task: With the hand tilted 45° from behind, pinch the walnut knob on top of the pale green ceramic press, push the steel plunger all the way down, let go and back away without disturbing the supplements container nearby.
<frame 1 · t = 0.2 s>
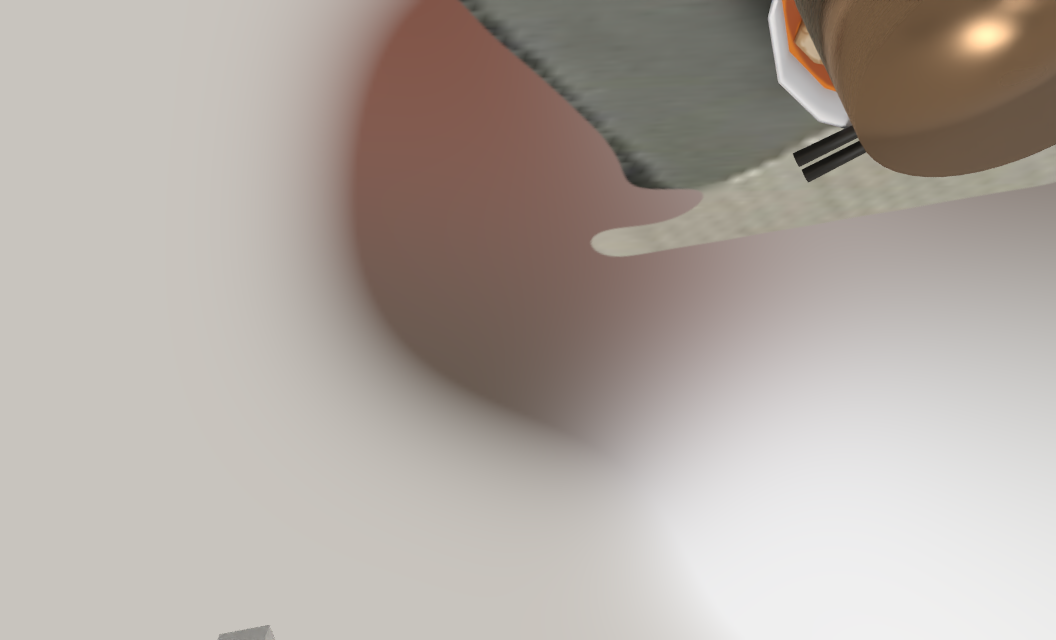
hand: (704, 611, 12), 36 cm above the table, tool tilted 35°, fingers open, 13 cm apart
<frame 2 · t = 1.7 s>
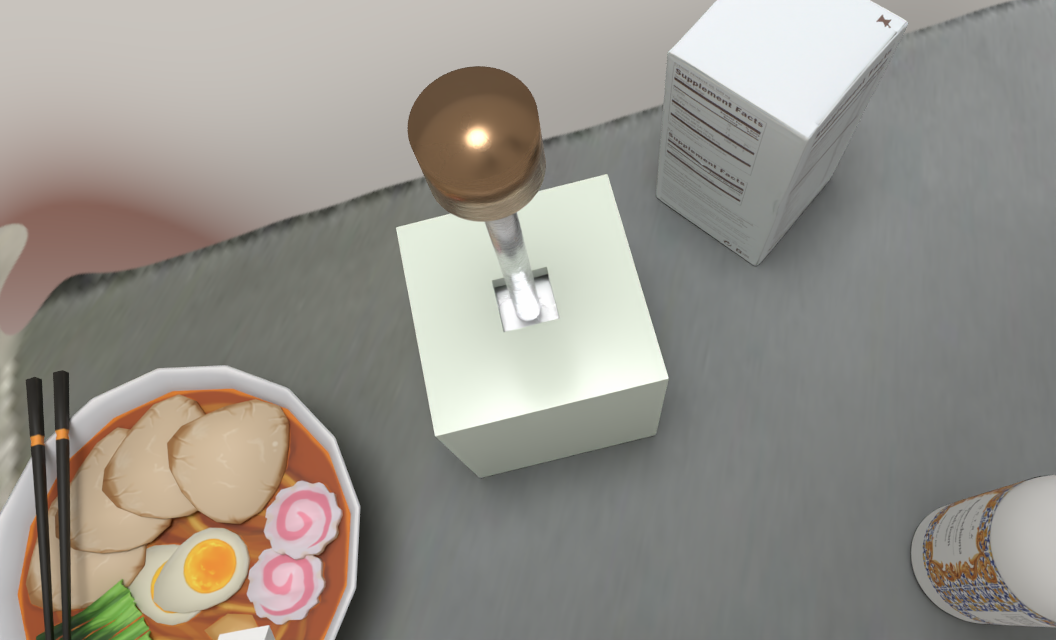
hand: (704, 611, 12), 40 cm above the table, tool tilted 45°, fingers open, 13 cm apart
plunger: (507, 241, 36), point 21 cm above the table, slide at 0.0 cm
bath foam: (966, 562, 49), on the table
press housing: (546, 371, 55), on the table
ramen bowl: (228, 559, 54), on the table
supplement box: (741, 188, 59), on the table
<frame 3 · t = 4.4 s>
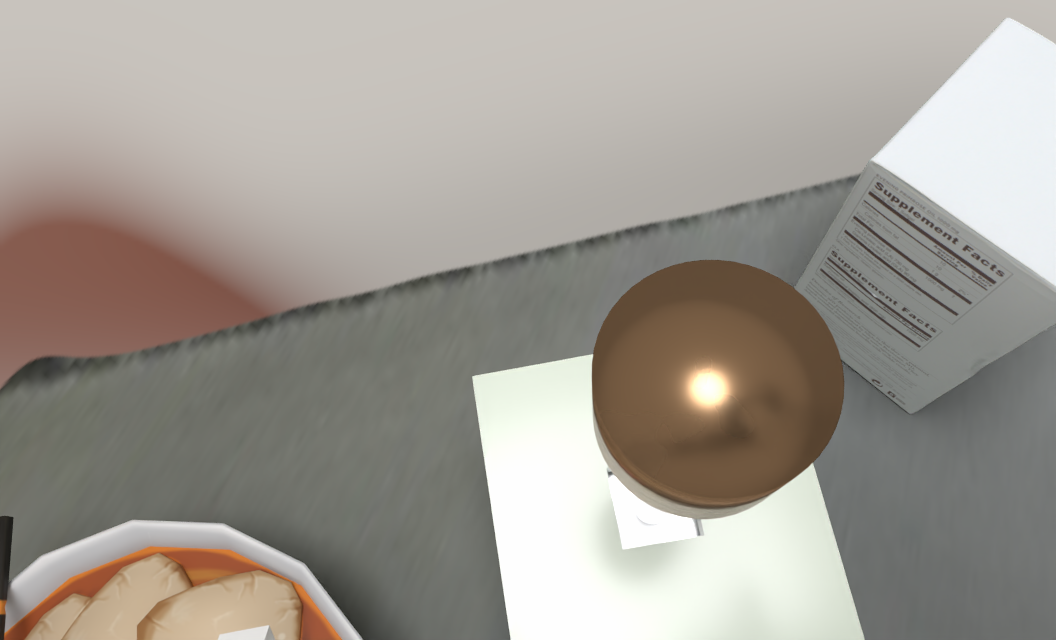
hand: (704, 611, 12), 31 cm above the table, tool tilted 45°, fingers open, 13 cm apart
plunger: (671, 466, 23), point 21 cm above the table, slide at 0.0 cm
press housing: (637, 537, 43), on the table
supplement box: (891, 308, 46), on the table
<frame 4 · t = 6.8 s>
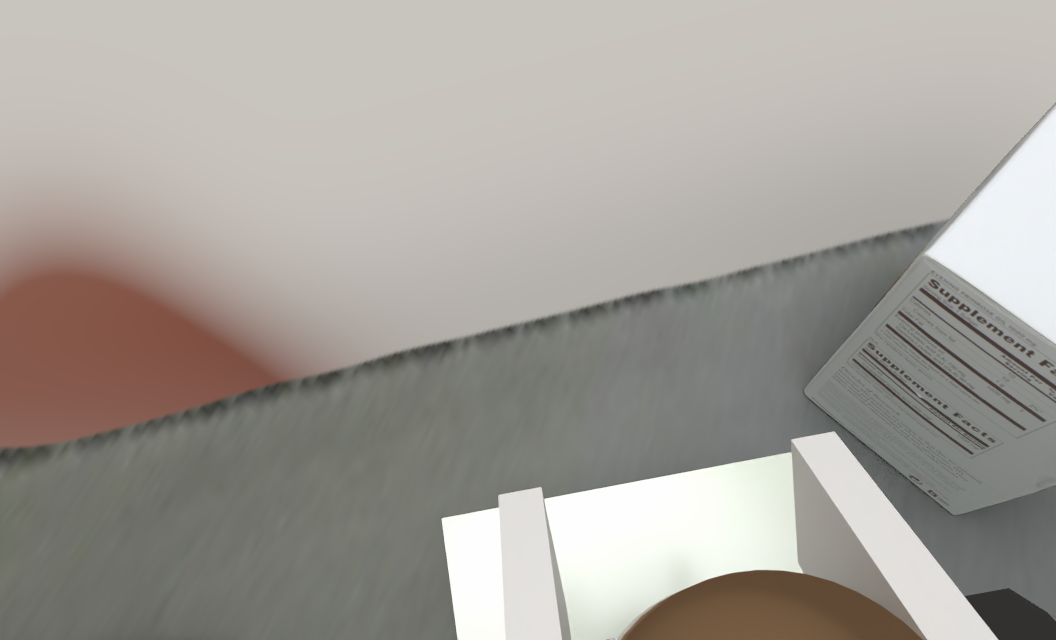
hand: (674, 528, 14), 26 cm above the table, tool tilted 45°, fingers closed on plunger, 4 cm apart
supplement box: (928, 389, 41), on the table
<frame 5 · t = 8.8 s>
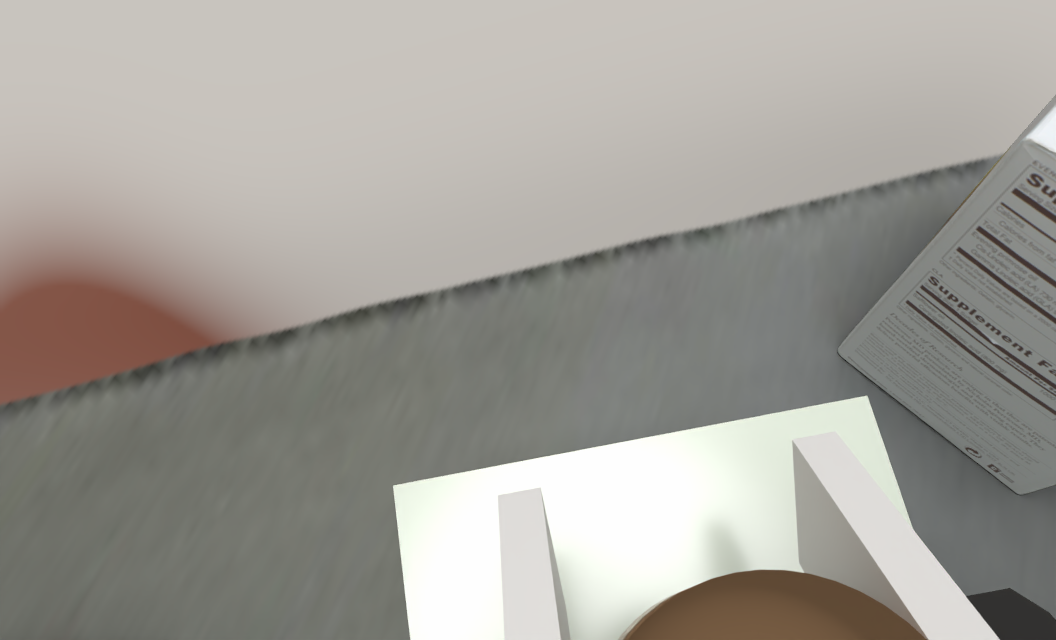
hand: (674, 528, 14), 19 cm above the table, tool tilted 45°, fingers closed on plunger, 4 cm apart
supplement box: (984, 348, 35), on the table
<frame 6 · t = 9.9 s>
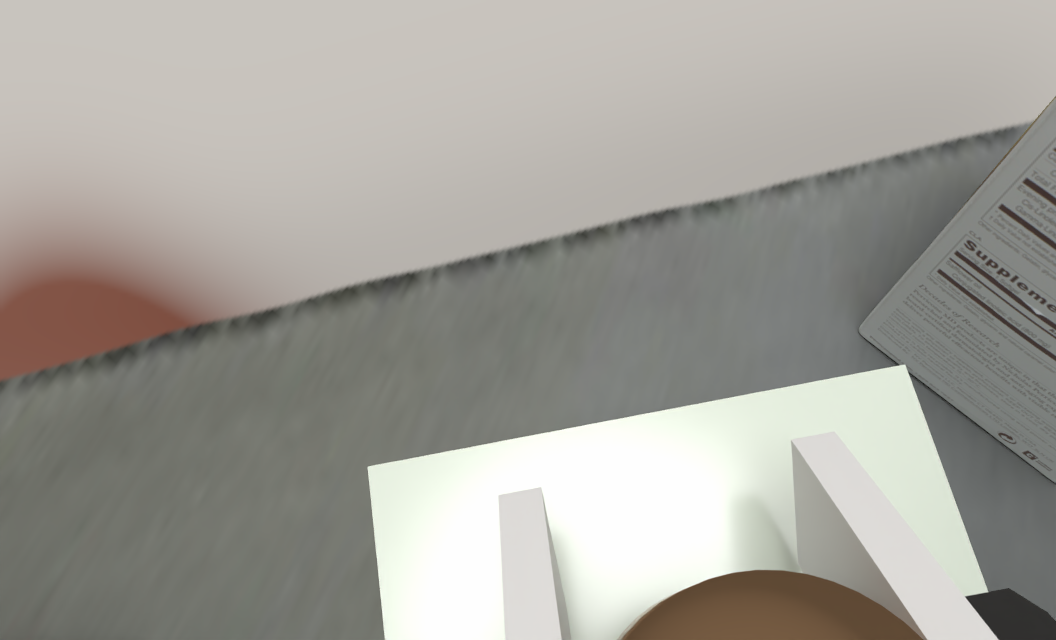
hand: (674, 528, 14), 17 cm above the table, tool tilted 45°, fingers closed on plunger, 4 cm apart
supplement box: (1016, 327, 32), on the table
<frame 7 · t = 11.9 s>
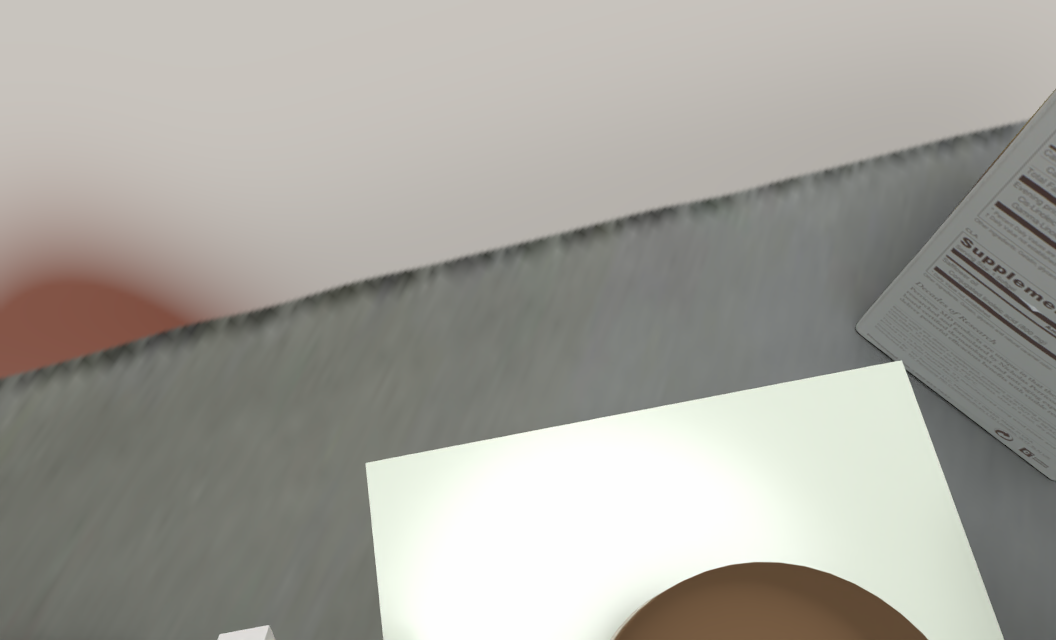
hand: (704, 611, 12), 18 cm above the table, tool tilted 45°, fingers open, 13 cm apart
supplement box: (1013, 324, 32), on the table
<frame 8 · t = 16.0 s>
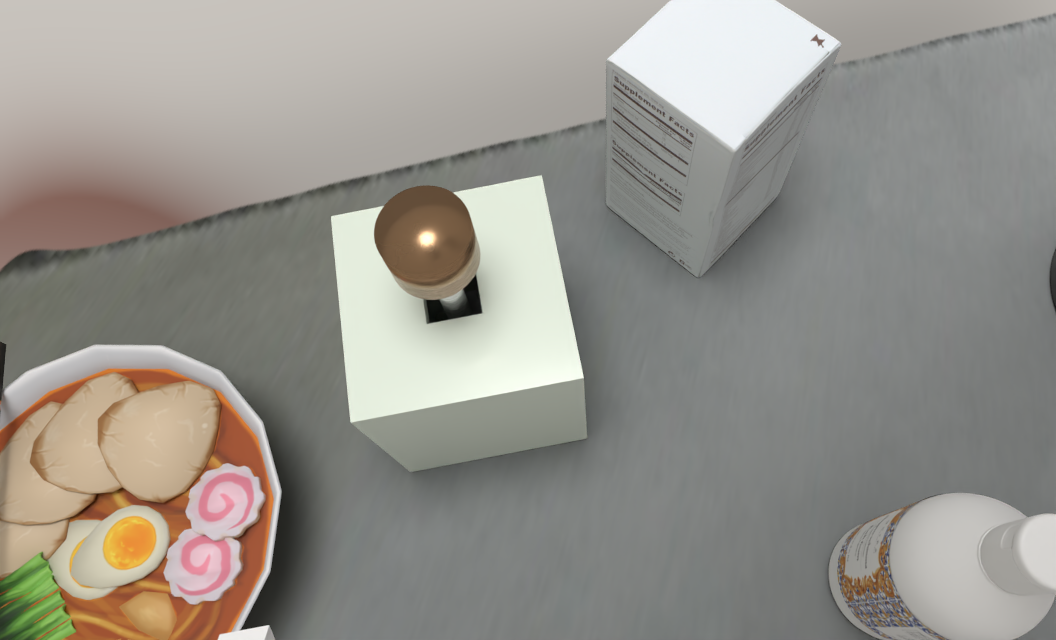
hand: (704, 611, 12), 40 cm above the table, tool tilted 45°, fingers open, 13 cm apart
plunger: (456, 306, 45), point 12 cm above the table, slide at 9.1 cm
bath foam: (883, 580, 49), on the table
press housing: (485, 370, 56), on the table
ramen bowl: (155, 540, 54), on the table
supplement box: (690, 201, 59), on the table
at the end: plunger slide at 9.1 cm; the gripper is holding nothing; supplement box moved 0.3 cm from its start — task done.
